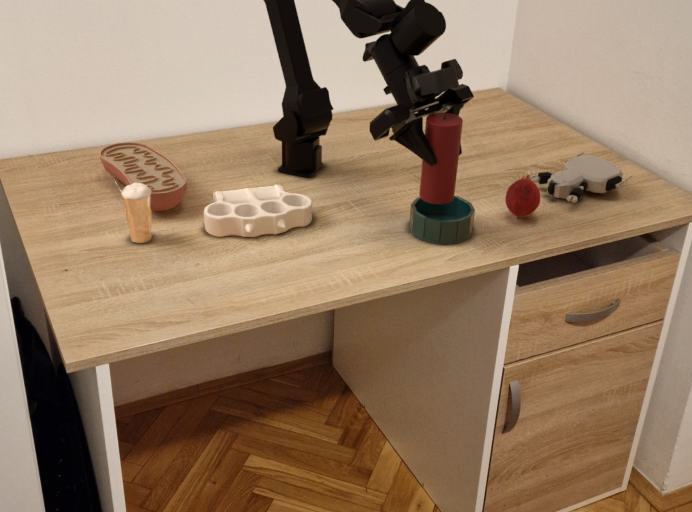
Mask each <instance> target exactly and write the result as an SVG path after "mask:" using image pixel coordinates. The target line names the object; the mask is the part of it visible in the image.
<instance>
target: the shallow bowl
mask: <svg viewBox="0 0 692 512" xmlns="http://www.w3.org/2000/svg"><path fill="white" fill-rule="evenodd" d="M475 214H476V209H475V207H474V205H473V203H472V202H471V201H469V200H467V199H466V198H464V197H461V196H458V195H454V199H453V201H451V202H449V203H446V204H432V203H428V202H425V201H423V200H422V199H421V198H420V196H418V197H416V198H415V199H414V200H413V201H412V202H411V204H410V209H409V222H408V223H409V230H410V232H411V234H412V235H413V236H414V237H416V238H417V239H419V240H421V241H424V242H426V243H429V244H435V245H454V244H458V243H462V242H465V241H466V240H468V239H469V238H470V237H471V235H472V232H473V230H474V223H475Z"/></svg>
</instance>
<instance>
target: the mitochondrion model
mask: <svg viewBox="0 0 692 512" xmlns="http://www.w3.org/2000/svg"><path fill="white" fill-rule="evenodd" d="M99 158H100V163H101V165H102V167H103V168H104V170H105V171H106V172H107V173H108V174H109V175H110V176H112V177H113V178H115V179H117V180H118V181H120V182H121V183H123V184H124V185H125V187H126V186H128V185H131V184H133V183H142V184H145V185H146V186H147V187H149V188H150V189H151V211H153V212H154V211H156V212H164V211H167V210H170V209H173V208H174V207H176V206H177V205H178V204H179V203H180V202H181V201H182V199H183V198H184V196H185V192H186V189H187V179H186V176H185V175H184V174H183V173H182V171H181V169H180V168H179V167H178V166H177V165H176V164H175V163H174V162H173V161H172V160H171V159H170V158H168V157H167V156H166V155H164V154H162V153H161V152H159V151H157V150H156V149H154V148H153V147H151V146H149V145H147V144H144V143H139V142H130V141H129V142H118V143H113V144H110V145H108V146H105V147H104V148H102V149H101V150H100V152H99Z"/></svg>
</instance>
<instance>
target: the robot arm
mask: <svg viewBox="0 0 692 512" xmlns="http://www.w3.org/2000/svg"><path fill="white" fill-rule="evenodd" d="M262 1H263V2H264V4H265V8H266V12H267V16H268V19H269V24H270V28H271V33H272V36H273V39H274V44H275V47H276V48H275V49H276V52H277V56H278V59H279V64H280V68H281V72H282V76H283V80H284V83H285V84H284V85H285V88H284V89H285V90H284V93H283V97H282V101H281V109H282V116H281V118H280V119H279V120H278V121H277V122H276V123H275V124H274V125H273V126H272V132H273V136H274V139H275V140H277V141H279V142H281V165H280V166H278V168H277V172H280V173H285V174H290V175H294V176H299V177H304V178H311V177H312V176H313V175H314V174H315V173H316V172H317V171H318V170H319V169H321V168H322V167H323V164H324V163H323V162H322V161H323V146H322V145H320V143H321V141H320V140H321V139H320V138H321V137H322V136H326V135H327V133H328V130H329V127H330V125H331V122H332V121H333V110H334V107H333V105H332V102H331V97H330V91H329V89H328V88H327V87H326V86H324V87H321V86H320V85H319V84H318V83H317V81H316V80H315V79H314V76H313V73H312V68H311V64H310V60H309V56H308V51H307V49H306V48H307V47H306V44H305V39H304V35H303V31H302V27H301V23H300V18H299V15H298V14H299V13H298V10H297V5H296V2H295V0H262ZM331 1H332V2H333V3H334V4H335V5H336V7H337V8H338V10H339V15H340V20H341V21H342V23H343V24H345V27H347V29H348V30H349V31H350V33H351V34H352V35H353V36H354V37H355V38H357V39H360V40H361V39H366V38H370V37H374V36H378V35H380V36H379V37H378V38H377V39H376V40H374V41H370V42H366V43H365V44H364V51H363V54H362V61H363V62H364V63H366V62H369V61H374V62H375V63H374V64H375V65H376V67H377V69H378V70H379V72H380V74H381V76H382V78H383V79H384V82H385V84H386V86H385V87H384V88H383V92H384V94H385V96H387V95H390V94H391V96H392V97H393V99H394V101H395V103H396V104H395V105H393V106H390V107H386V108H385V109H383V110H382V111H381V112H380V113H379V114H378V115H377V116H376V117H374V118H373V119H372V120H371V121H370V122H369V133H370V135H371V137H372V139H373V140H374V142H377V141H379V140H382V139H384V138H387V137H388V136H389V138H388V139H389V141H392V142H393V141H394V142H396V143H397V144H399V145H401V146H402V147H404V148H406V149H407V150H408V151H411V153H413V154H414V155H416V156H417V157H418V158H420V159H421V161H422V160H424V161H425V162H426V163H428V164H429V165H430V166H434V165H435V164H437V161H436V158H435V156H434V153H433V151H432V149H431V147H430V145H429V143H428V141H427V138H426V136H425V131H424V117H427V116H428V115H430V114H433V113H451V114H455V115H457V116H459V117H460V113H461V110H462V109H464V107H465V105H466V104H468V102H470V101H472V99H474V98H475V94H474V93H473V92H472V89H471V88H470V86H469V85H468V84H464V83H461V84H460V83H459V80H462V79H463V76H464V71H463V68H462V66H461V65H460V63H459V62H458V60H457V59H456V58H452V59H449V60H446V61H442V62H441V64H440V68H439V69H436V70H432V71H431V70H430V69H429V67H428V66H427V65H426V64H422V65H419V62H418V61H417V59H416V57H417V56H420V55H422V54H423V53H424V52H425V51H426V50H428V48H430V47H431V45H433V44H434V43H435V42H436V41H437V40H438V39H439V38H441V37H442V36H443V35H444V33H445V32H446V30H447V20H446V18H445V16H444V14H443V12H442V11H440V10H439V9H438V8H437V7H436V6H435V5H433V4H431V3H429V2H427V1H425V0H408V2H407V3H406V5H405V7H403V6H401V5H399V4H397V3H396V2H395V0H331ZM390 130H391V132H392V135H390ZM462 154H463V149H462V143H461V141H460V150H459V156H461V155H462Z"/></svg>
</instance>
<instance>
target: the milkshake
mask: <svg viewBox="0 0 692 512" xmlns="http://www.w3.org/2000/svg"><path fill="white" fill-rule="evenodd" d="M114 183H115V184H116V186H117V188H118V190H119V191H120V193H121V197H122V201H123V202H122V203H123V206H124V210H125V215H126V222H127V226H128V231H129V236H130V239H131V241H132V242H134V243H137V244H144V243H147V242H150V241H151V239H152V238H153V236H152V235H153V231H152V227H153V225H152V210H151V189H150V188H149V187H147V186H146V185H145V184H142V183H133V184H131V185H128V186H126V185H125V187H124V188H123V189H121V187H120V186H119V184H118V183H117V181H116V180H114Z"/></svg>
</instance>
